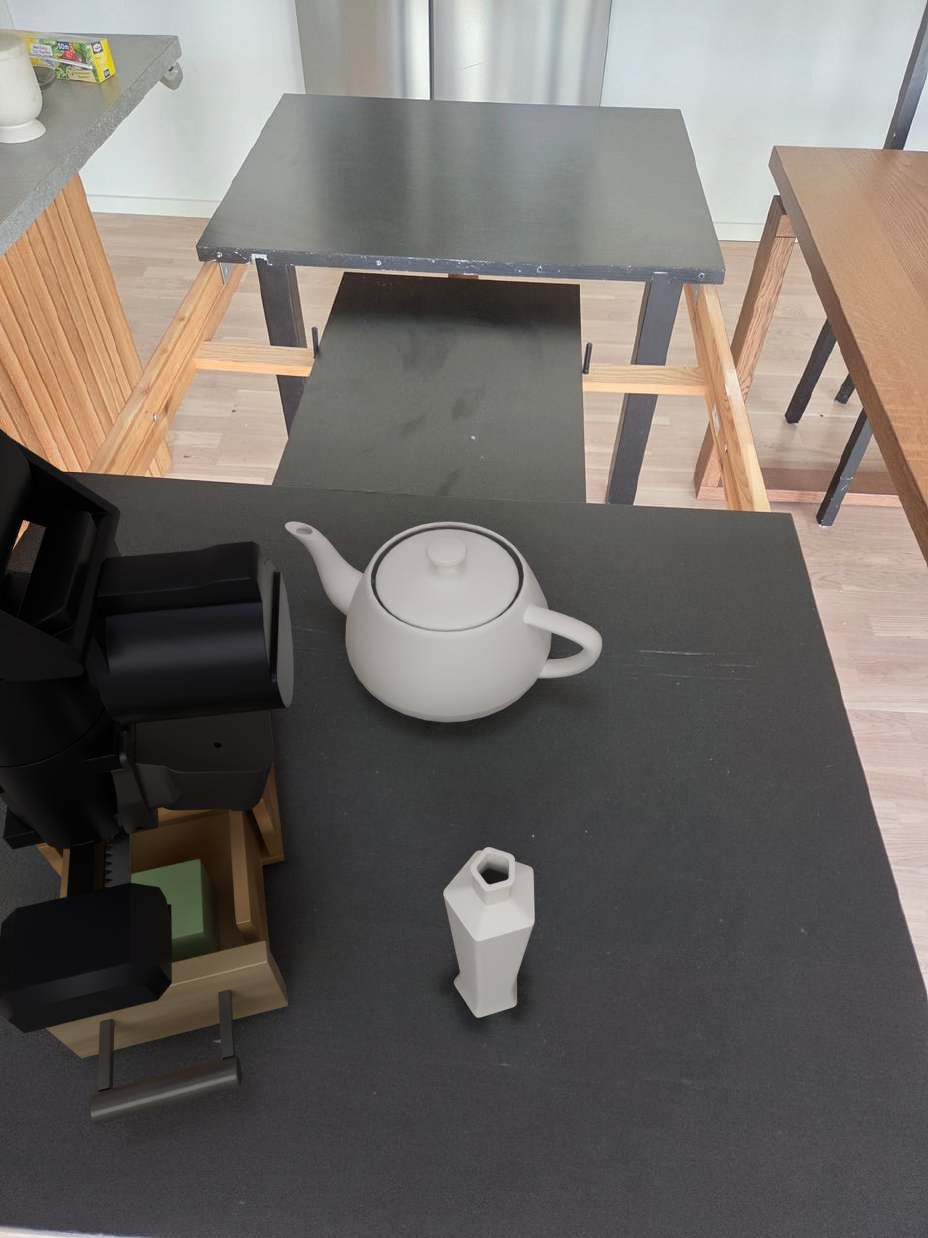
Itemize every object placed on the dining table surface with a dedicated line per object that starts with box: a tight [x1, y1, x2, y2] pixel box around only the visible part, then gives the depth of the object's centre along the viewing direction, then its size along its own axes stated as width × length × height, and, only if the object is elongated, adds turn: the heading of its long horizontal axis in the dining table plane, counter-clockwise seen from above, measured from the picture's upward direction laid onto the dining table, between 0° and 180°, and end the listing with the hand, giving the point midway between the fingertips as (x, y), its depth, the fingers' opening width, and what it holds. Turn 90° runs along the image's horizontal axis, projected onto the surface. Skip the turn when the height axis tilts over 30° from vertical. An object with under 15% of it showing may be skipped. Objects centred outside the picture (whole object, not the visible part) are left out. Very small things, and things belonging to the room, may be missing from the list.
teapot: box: [284, 521, 603, 723], centre depth 62 cm, size 25×16×12 cm, turn 66°
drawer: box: [45, 809, 289, 1126], centre depth 48 cm, size 18×11×7 cm, turn 14°
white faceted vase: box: [442, 846, 536, 1019], centre depth 44 cm, size 5×4×15 cm
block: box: [131, 859, 220, 963], centre depth 48 cm, size 4×4×4 cm
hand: (146, 881), depth 45 cm, fingers open, 9 cm apart
